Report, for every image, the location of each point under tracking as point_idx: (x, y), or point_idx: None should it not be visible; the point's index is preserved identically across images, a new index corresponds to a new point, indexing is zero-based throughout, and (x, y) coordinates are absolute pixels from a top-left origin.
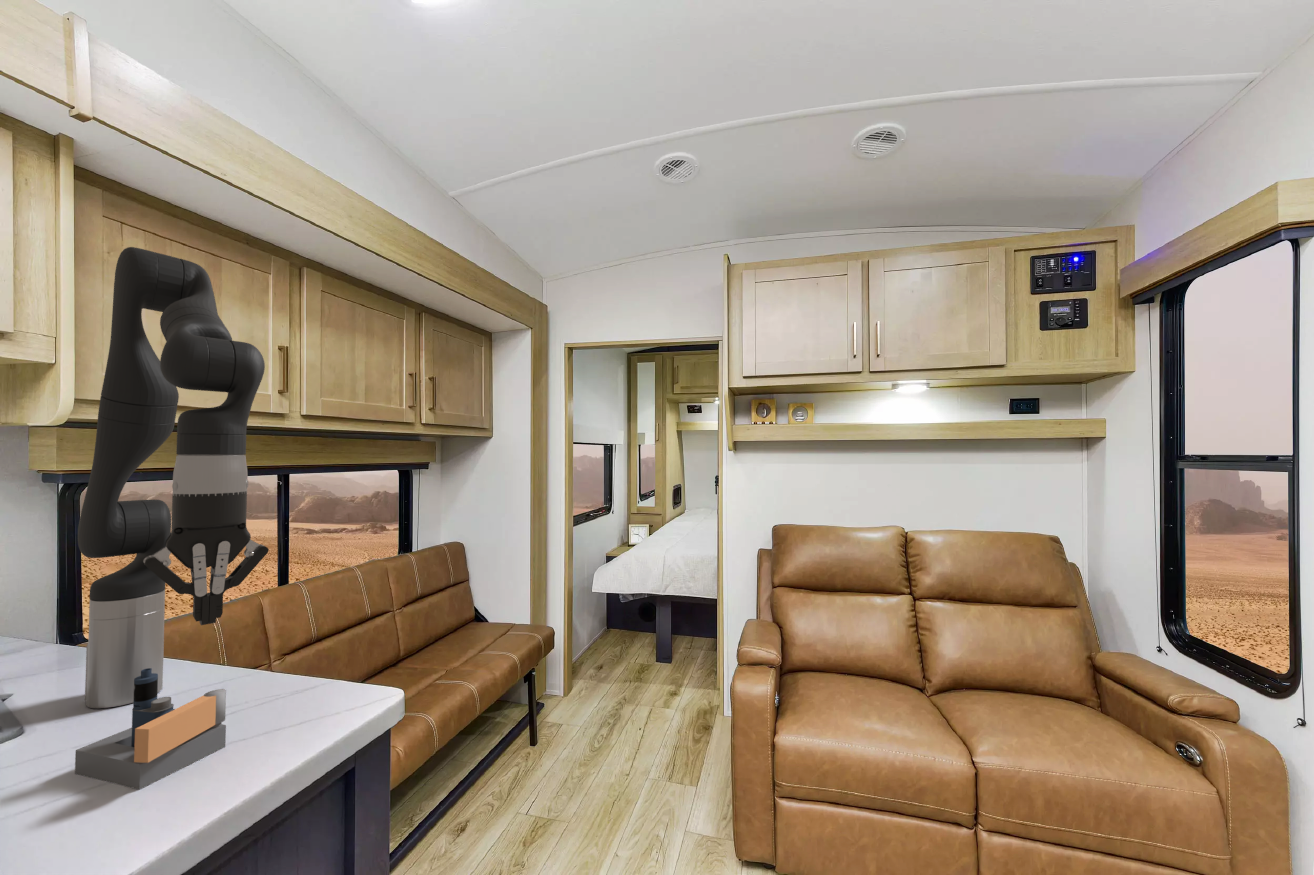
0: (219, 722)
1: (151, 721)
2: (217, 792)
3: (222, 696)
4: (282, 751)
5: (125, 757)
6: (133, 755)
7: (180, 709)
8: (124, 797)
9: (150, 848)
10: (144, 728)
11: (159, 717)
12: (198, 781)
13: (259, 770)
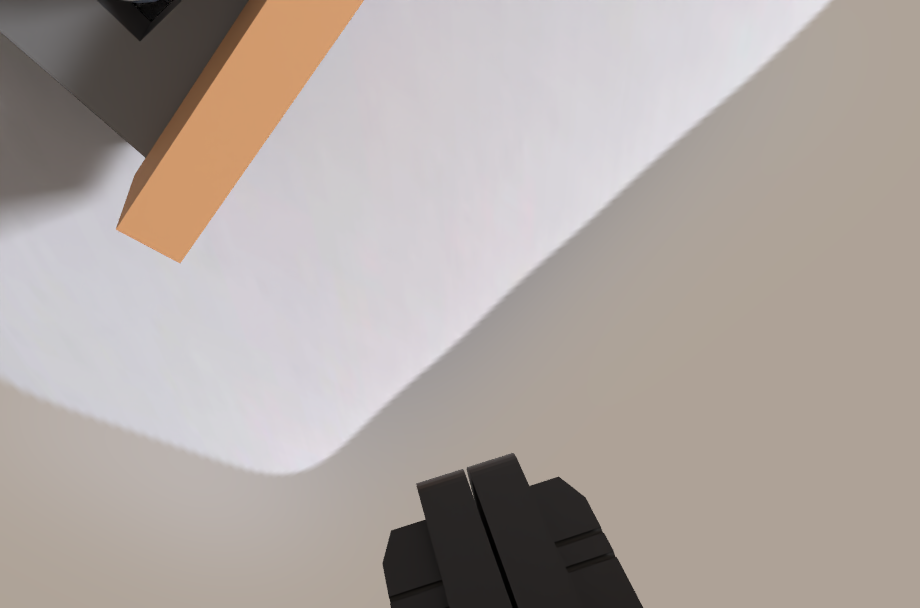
0: None
1: (158, 177)
2: (398, 273)
3: None
4: (563, 104)
5: (63, 59)
6: (91, 59)
7: (249, 86)
8: (133, 163)
9: (295, 443)
10: (156, 243)
11: (179, 146)
12: (336, 176)
13: (497, 202)
